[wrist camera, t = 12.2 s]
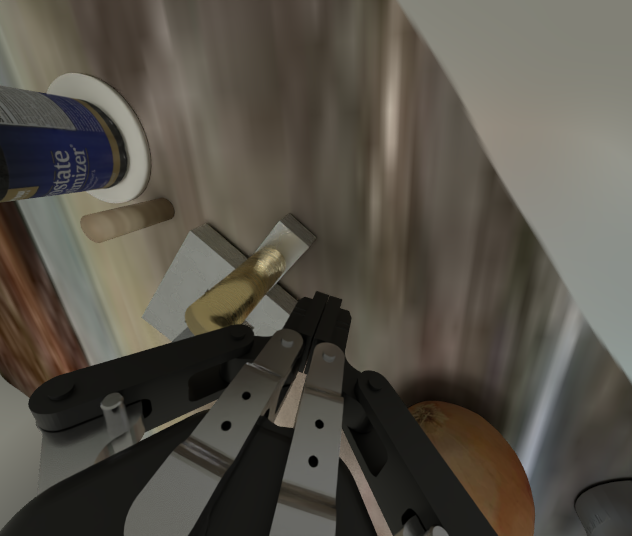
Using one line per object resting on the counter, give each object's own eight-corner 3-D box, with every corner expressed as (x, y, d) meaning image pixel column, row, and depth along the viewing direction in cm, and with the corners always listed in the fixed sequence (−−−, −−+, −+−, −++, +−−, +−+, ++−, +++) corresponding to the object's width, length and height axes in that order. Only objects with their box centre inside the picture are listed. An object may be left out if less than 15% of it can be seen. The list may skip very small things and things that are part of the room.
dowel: (170, 197, 21) (97, 214, 16) (176, 219, 22) (109, 242, 16) (152, 198, 21) (75, 215, 16) (159, 219, 22) (88, 243, 17)
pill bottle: (116, 202, 22) (-103, 247, 12) (56, 147, 21) (-232, 147, 11) (142, 143, 19) (-117, 138, 9) (73, 77, 18) (-291, -5, 8)
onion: (419, 457, 27) (435, 609, 18) (362, 393, 25) (349, 528, 16) (521, 437, 22) (608, 625, 14) (461, 359, 21) (517, 517, 12)
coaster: (122, 64, 17) (114, 61, 17) (166, 199, 21) (160, 200, 21) (32, 85, 20) (23, 84, 19) (86, 203, 23) (79, 205, 23)
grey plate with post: (248, 377, 28) (189, 474, 20) (157, 306, 26) (55, 377, 18) (362, 279, 19) (344, 376, 11) (239, 168, 18) (118, 186, 10)
